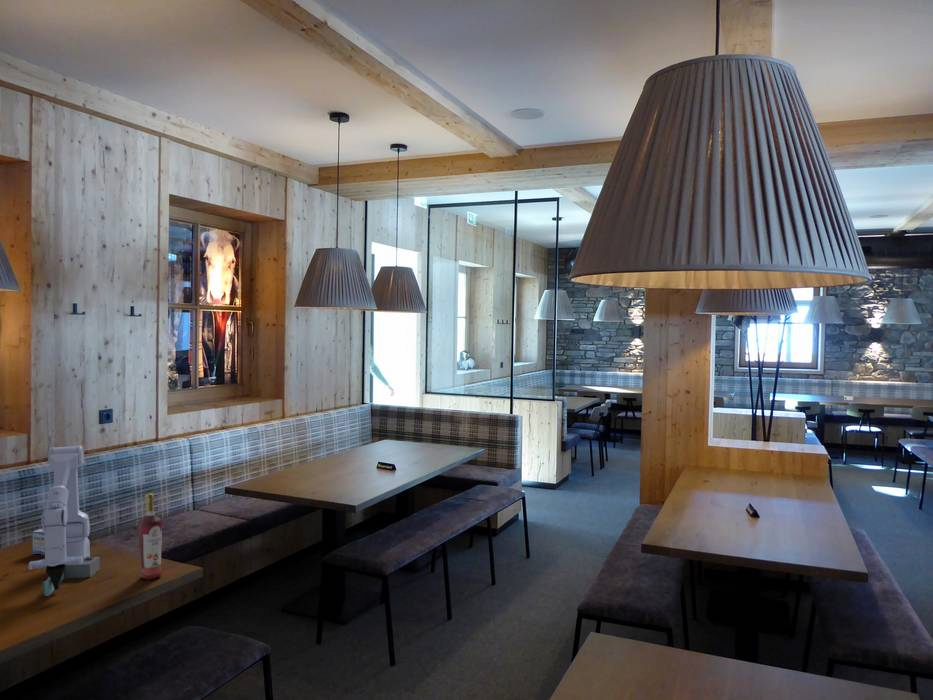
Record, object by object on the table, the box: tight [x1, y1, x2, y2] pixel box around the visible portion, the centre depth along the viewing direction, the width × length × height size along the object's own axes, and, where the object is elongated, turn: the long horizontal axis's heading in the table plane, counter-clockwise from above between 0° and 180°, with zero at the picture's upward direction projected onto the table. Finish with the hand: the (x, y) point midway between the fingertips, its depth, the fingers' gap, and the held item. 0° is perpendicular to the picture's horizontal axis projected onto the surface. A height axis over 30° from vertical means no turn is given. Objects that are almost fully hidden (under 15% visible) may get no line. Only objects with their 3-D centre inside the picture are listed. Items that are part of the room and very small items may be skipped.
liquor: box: [137, 493, 163, 580], centre depth 226 cm, size 7×7×28 cm
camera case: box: [64, 555, 101, 579], centre depth 230 cm, size 7×9×5 cm
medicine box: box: [32, 528, 45, 556], centre depth 251 cm, size 8×4×9 cm, turn 81°
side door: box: [42, 572, 66, 597], centre depth 218 cm, size 16×2×5 cm, turn 15°
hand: (56, 588), depth 214 cm, fingers closed
